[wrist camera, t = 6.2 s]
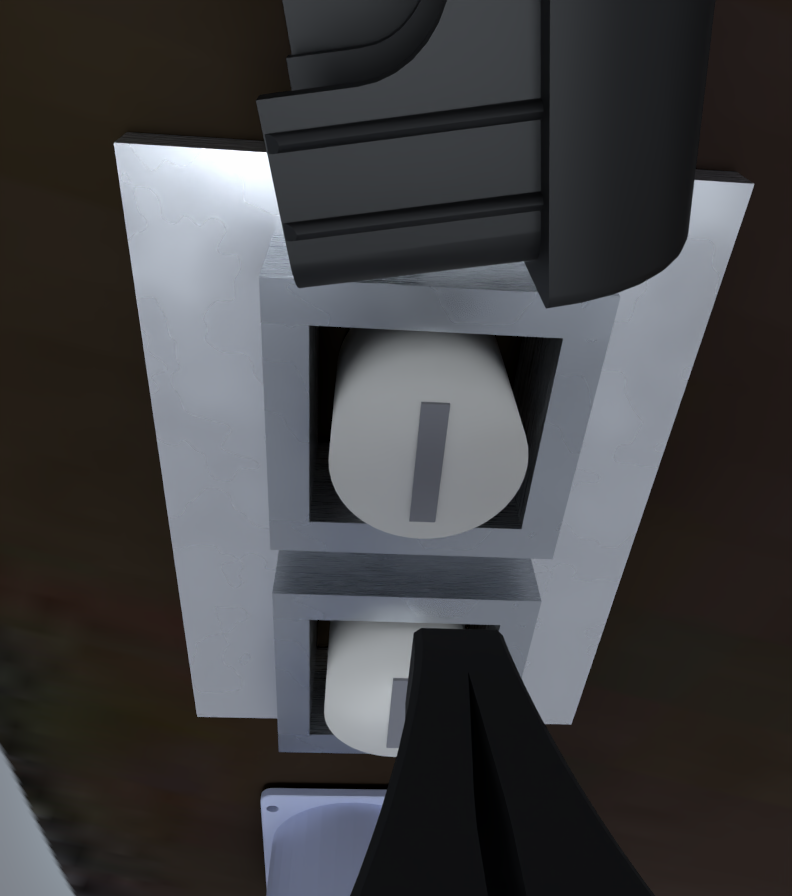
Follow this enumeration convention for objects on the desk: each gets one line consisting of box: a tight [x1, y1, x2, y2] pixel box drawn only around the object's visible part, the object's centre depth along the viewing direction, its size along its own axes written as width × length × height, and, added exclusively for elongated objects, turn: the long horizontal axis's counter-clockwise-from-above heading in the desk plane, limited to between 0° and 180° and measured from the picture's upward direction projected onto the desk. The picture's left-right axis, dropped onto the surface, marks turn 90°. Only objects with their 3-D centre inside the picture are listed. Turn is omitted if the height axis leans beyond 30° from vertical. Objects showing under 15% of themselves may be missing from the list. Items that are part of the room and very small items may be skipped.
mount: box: [114, 132, 754, 754], centre depth 21 cm, size 20×14×4 cm
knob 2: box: [324, 620, 465, 757], centre depth 23 cm, size 4×4×4 cm
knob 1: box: [329, 328, 528, 539], centre depth 18 cm, size 4×4×4 cm
